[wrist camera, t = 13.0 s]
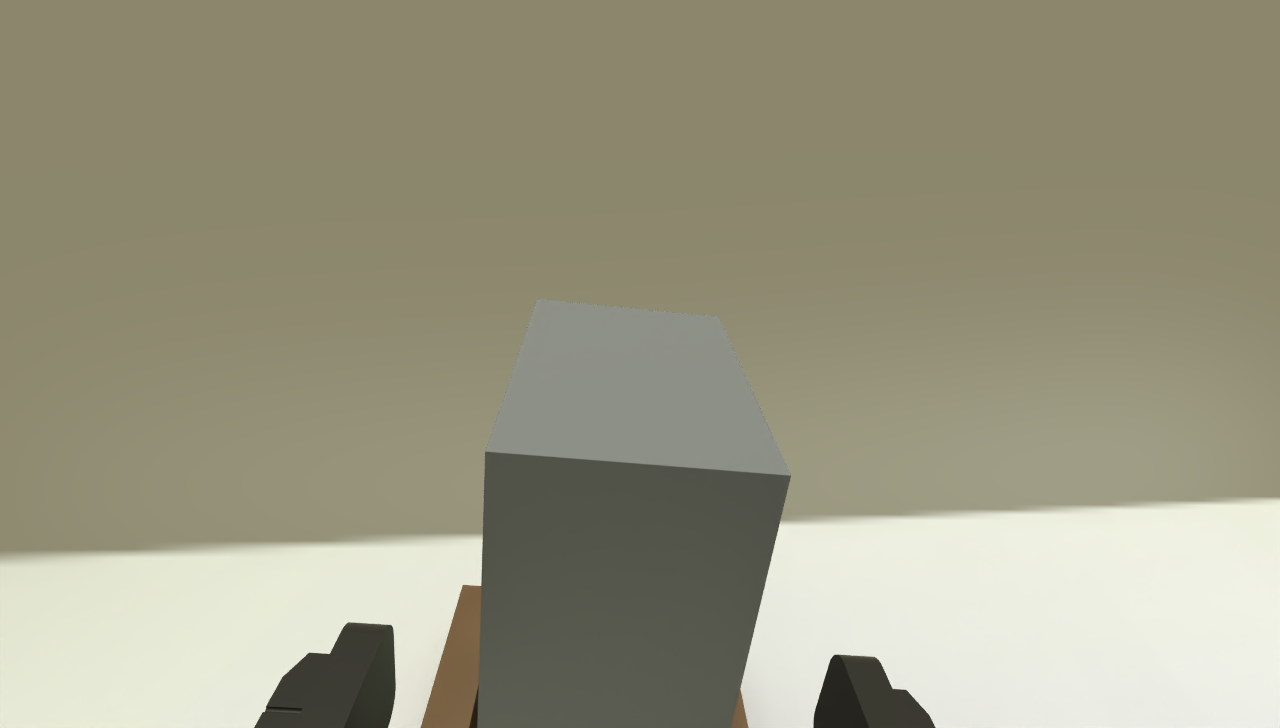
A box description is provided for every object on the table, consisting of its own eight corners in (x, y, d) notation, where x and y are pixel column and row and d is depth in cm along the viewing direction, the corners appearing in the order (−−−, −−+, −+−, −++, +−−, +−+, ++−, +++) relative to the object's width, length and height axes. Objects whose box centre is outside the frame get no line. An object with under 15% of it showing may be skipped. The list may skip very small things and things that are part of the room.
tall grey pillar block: (663, 643, 23) (718, 316, 18) (687, 908, 16) (791, 475, 11) (515, 635, 23) (534, 298, 18) (469, 903, 15) (480, 450, 11)
